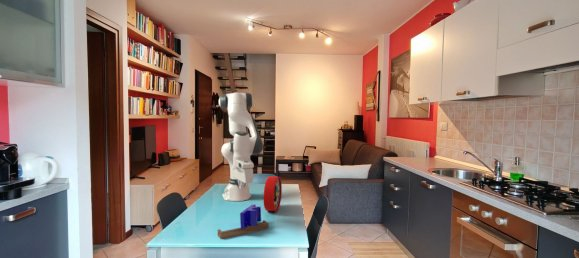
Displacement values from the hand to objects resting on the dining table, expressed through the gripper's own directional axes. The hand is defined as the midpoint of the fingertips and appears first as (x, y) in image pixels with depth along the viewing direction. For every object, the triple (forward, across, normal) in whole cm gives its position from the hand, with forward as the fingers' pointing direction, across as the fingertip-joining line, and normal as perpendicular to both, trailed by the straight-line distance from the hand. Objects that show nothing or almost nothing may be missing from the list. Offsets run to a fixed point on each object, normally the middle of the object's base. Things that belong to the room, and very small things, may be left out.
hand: (241, 188), depth 148 cm
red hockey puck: (+17, -7, +23) cm, 30 cm away
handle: (+17, +17, -5) cm, 24 cm away
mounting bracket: (+11, +11, -2) cm, 15 cm away
